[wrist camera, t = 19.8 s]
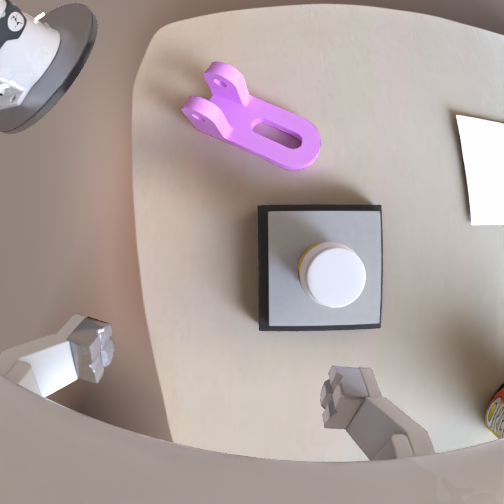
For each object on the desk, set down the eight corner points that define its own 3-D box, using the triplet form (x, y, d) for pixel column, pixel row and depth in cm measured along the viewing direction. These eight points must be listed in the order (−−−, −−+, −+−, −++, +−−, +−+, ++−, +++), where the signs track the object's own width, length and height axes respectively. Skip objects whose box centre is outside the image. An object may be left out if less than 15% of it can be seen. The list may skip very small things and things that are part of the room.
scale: (260, 325, 31) (258, 333, 29) (259, 208, 31) (256, 204, 29) (375, 323, 30) (382, 330, 27) (376, 207, 30) (383, 203, 27)
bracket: (197, 130, 32) (176, 104, 25) (221, 90, 32) (206, 58, 25) (305, 179, 31) (309, 160, 24) (328, 135, 30) (336, 107, 23)
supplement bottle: (286, 269, 28) (284, 277, 20) (322, 232, 28) (335, 224, 19) (323, 305, 28) (335, 327, 20) (358, 268, 27) (385, 276, 19)
